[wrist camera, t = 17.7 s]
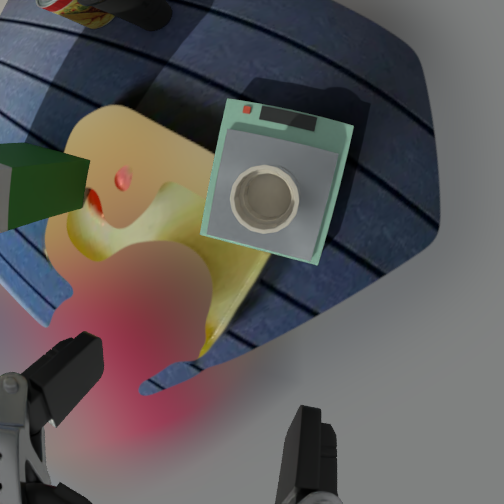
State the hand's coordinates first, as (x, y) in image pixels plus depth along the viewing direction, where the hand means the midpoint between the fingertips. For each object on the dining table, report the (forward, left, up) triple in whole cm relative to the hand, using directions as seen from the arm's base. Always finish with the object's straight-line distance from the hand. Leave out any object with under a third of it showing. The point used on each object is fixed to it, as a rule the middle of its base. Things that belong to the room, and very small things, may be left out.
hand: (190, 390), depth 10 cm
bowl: (+1, -5, -24) cm, 25 cm away
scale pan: (+1, -4, -25) cm, 25 cm away
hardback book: (+37, -1, -28) cm, 47 cm away
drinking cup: (+22, -26, -28) cm, 44 cm away
